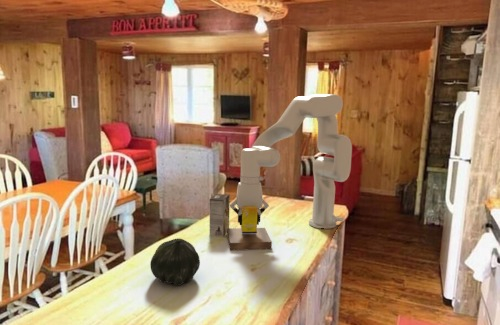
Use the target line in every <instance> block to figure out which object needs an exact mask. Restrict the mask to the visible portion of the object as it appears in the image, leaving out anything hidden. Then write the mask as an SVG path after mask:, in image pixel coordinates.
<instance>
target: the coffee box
mask: <svg viewBox="0 0 500 325" xmlns="http://www.w3.org/2000/svg"><path fill="white" fill-rule="evenodd" d="M228 228H230V194H222V193H215V194H214V195H213V196H212V197H210V198H209V236H210V237H219V238H224V237H225V236H227V229H228Z"/></svg>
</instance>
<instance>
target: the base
mask: <svg viewBox="0 0 500 325" xmlns="http://www.w3.org/2000/svg"><path fill="white" fill-rule="evenodd" d="M226 237H227V242H228V248H229V251H256V250H272V244H273V243H272V239H271V237H270V235H269V233H268V231H267V230H266V228H265V227H257V233H253V234H242V229H241V227H237V228H236V227H235V228H234V227H233V228H231V227H229V228H228V229H227V233H226Z"/></svg>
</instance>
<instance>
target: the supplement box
mask: <svg viewBox="0 0 500 325" xmlns="http://www.w3.org/2000/svg"><path fill="white" fill-rule="evenodd" d="M257 208H258V207H256V206H246V207H242V213H241V214H242V225H240V228H241V229H242V234H253V233H257V228H258V225H257Z"/></svg>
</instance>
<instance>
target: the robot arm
mask: <svg viewBox="0 0 500 325" xmlns="http://www.w3.org/2000/svg"><path fill="white" fill-rule="evenodd" d="M289 103H290V104H288V106H287V107H286V109H285V110H284V112H283V113H282V115H281V116H280V118H278V120H277V122H275V123H274V124H272V126H270V127H269V128H267V129H266V130H264V131H263V132H262V133H261V134H259V136H258V137H257V138H256V140H255V141H254V143H253V144H252V145H251V147H250V148H242V150H241V152H240V178H239V179H240V182H238V184H237V188H236V198H235V199H234V200H233V201H232V202H231V203H229V208H231V209H232V210H233V212H234V213H236V214H237V223H239V225H240V226H241V225H242V207H246V206H256V207H258V208H257V226H259V224H260V222H261V215H262V214H263V213H264V212H265V210H267V209H268V208H270V204H269V203H268V202H267V201H265V199H263V187H262V183H261V181H264V176H261V175H260V174H261V167H264V168H265V167H267V168H268V167H269V168H271V167H276V166H277V165H278V164H279V163H280V162H281V154H280V152H279V150H277V149H275V148H273V147H272V146H273V145H274V144H275V143H277V142H279V141H281V140H284V139H287V138H288V139H289V138H290V137H292V136H294V135H295V134H296V132H297V131H298V129H299V128H300V126H301V125H302V123H303V122H304V120H305V119H306V118H309V119H316V120H317V142H316V144H317V150H318V152H319V153H321V154H325V155H329V156H318V157H317V158H316V159H315V160H314V161H313V164H312V173H313V181H314V182H313V185H314V186H313V197H312V198H313V199H312V200H313V201H312V218H311V219H309V220H308V224H309V226H310V227H312V228H316V229H321V228H324V229H323V230H327V229H330V230H331V229H334V228H336V227H337V222H344V219H345V218H344V216H339V215H334V212H335V199H336V198H335V197H336V196H335V195H336V185H335V182H340V183H343V182H345V181H347V180H348V178H349V177H350V174H351V170H352V155H353V144H352V141H351V139H350V137H348V136H347V135H344V134H338V133H339V132H338V127H339V126H338V118H337V116H336V115H338V114H339V113H341V111H342V110H343V106H344V101H343V98H342V97H341V96H340V95H338V94H335V93H314V94H310V95H309V96H304V95H301V96H296V97H295V98H293V99H292V100H291V102H289ZM330 156H333V157H330ZM235 206H237V208H236V207H235Z"/></svg>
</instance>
